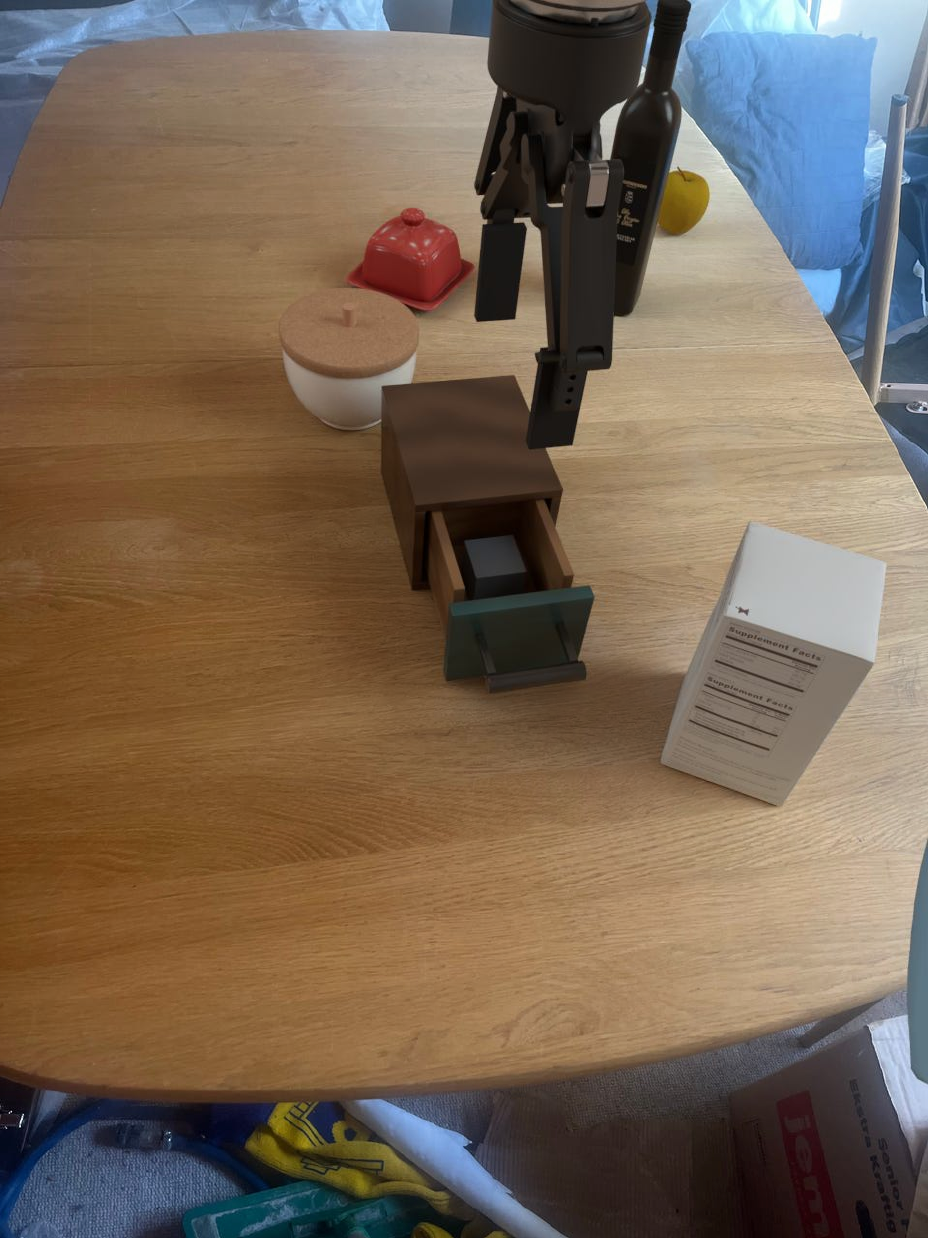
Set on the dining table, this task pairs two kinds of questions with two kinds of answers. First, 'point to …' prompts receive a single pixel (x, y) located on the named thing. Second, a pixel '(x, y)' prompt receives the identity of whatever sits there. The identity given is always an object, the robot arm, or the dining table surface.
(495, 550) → the block
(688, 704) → the supplement box
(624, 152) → the wine bottle
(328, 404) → the lidded bowl
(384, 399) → the cabinet
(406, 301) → the butter dish
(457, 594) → the drawer
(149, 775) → the dining table surface
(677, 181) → the apple
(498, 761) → the dining table surface
